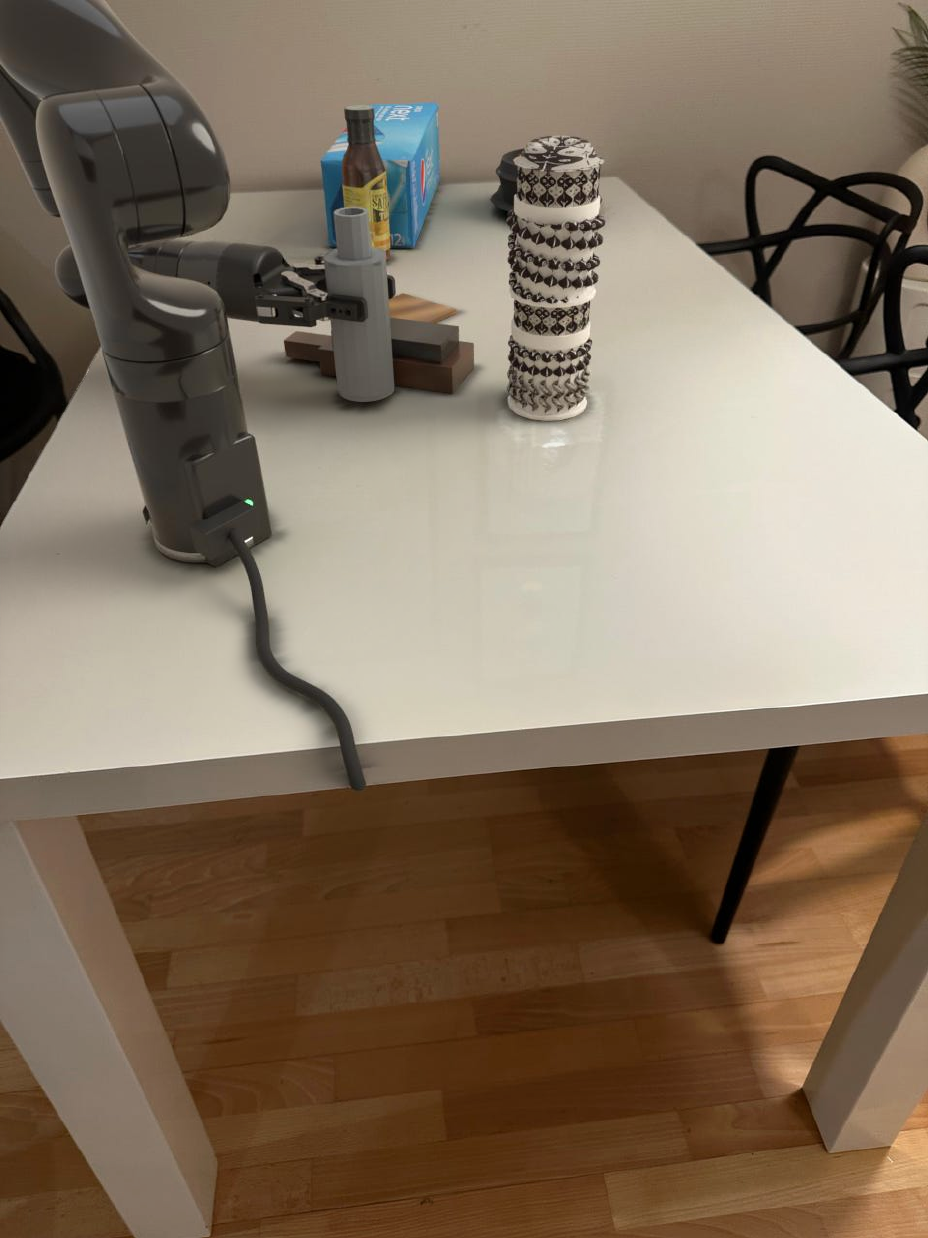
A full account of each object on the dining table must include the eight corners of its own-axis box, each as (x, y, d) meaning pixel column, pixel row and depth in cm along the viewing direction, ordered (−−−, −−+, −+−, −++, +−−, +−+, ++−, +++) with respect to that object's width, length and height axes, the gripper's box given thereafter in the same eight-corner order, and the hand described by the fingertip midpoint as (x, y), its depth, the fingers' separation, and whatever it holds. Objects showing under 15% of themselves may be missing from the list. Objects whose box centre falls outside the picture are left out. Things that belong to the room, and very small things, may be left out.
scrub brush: (474, 368, 102) (473, 325, 99) (452, 393, 97) (451, 349, 94) (306, 344, 108) (301, 303, 105) (278, 367, 103) (271, 325, 100)
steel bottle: (405, 387, 96) (395, 209, 85) (366, 407, 93) (350, 224, 81) (366, 373, 99) (351, 199, 88) (326, 391, 96) (305, 212, 84)
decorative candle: (519, 428, 91) (527, 157, 75) (493, 389, 98) (494, 134, 82) (603, 415, 92) (628, 148, 77) (571, 379, 99) (588, 127, 83)
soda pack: (369, 180, 167) (363, 102, 159) (442, 181, 166) (440, 101, 158) (326, 248, 136) (316, 155, 128) (415, 249, 135) (411, 155, 127)
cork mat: (456, 312, 115) (456, 308, 115) (406, 335, 110) (406, 331, 109) (402, 296, 120) (402, 292, 120) (352, 317, 114) (352, 313, 114)
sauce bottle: (384, 268, 129) (374, 112, 116) (343, 265, 130) (328, 111, 117) (396, 253, 134) (387, 102, 121) (356, 251, 135) (343, 101, 122)
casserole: (476, 195, 158) (476, 142, 153) (577, 188, 161) (580, 136, 156) (508, 237, 139) (509, 178, 134) (622, 228, 142) (628, 170, 137)
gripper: (187, 265, 86) (345, 283, 81) (263, 224, 96) (406, 238, 92) (203, 341, 91) (353, 362, 86) (273, 294, 101) (410, 310, 96)
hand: (380, 298), depth 89 cm, fingers closed on steel bottle, 6 cm apart
